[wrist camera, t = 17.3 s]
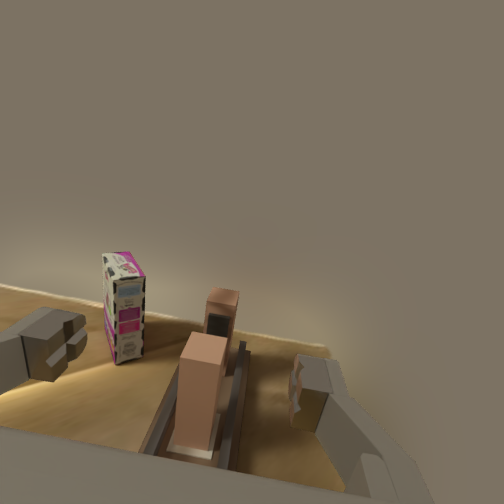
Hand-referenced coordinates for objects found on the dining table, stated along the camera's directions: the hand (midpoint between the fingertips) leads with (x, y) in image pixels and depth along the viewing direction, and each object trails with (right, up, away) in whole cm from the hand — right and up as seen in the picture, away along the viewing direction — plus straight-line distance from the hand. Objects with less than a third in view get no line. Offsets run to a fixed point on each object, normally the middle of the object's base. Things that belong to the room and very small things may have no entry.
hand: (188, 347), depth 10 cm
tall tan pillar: (-5, -20, +25) cm, 33 cm away
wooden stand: (-5, -20, +31) cm, 37 cm away
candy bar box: (-22, -14, +40) cm, 48 cm away
